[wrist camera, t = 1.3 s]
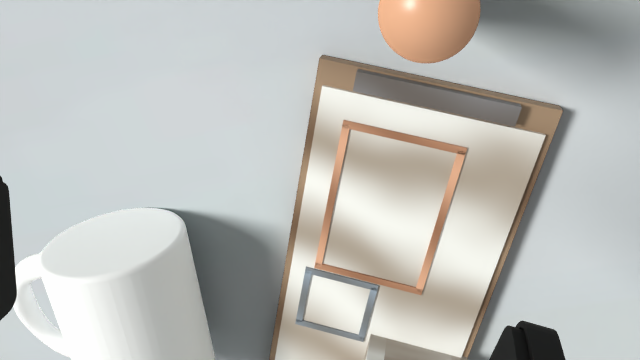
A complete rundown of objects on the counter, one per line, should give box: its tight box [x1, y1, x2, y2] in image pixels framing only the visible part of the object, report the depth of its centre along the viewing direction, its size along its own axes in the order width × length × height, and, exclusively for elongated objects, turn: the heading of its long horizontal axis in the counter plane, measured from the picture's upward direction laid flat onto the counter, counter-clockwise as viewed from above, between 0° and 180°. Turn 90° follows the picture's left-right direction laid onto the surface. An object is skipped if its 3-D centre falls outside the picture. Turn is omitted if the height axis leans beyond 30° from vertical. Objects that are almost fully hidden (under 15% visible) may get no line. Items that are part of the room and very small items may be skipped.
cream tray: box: [269, 55, 563, 360], centre depth 30 cm, size 22×12×4 cm, turn 170°
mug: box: [13, 208, 215, 360], centre depth 33 cm, size 12×10×8 cm
